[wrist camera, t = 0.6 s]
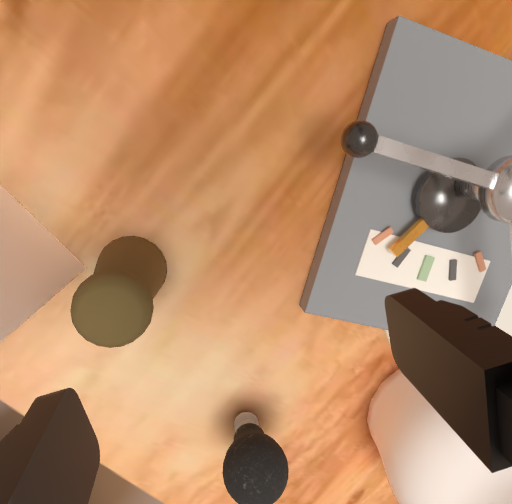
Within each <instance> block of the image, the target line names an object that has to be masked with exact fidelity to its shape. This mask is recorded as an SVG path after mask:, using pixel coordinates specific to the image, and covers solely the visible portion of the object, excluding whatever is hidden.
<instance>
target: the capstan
mask: <svg viewBox="0 0 512 504" xmlns="http://www.w3.org/2000/svg"><path fill="white" fill-rule="evenodd" d="M341 145H342V148H343V150H344V151H345V153H346V154H348V155H349V156H351V157H354V158H363V157H366V156H368V155H369V154H371V153H372V154H375V155H378V156H381V157H384V158H388V159H391V160H394V161H397V162H400V163H404V164H407V165H410V166H413V167H417V168H420V169H423V170H426V171H429V172H427V173H426V174H425V176H424V177H423V178H422V179H421V181H420V183H419V184H418V187H417V189H416V193H415V198H414V205H415V211H416V214H417V216H418V218H419V219H418V220H417V221H416V222H415V223H414V224H413V225H412V226H411V227H410V228H409V229H408V230H407V231H406V232H405V233H404V234H403V235H402V236H401V237H400V238H399V239H398V240H397V241H396V242H395V243H394V244H393V245H392V246H391V247H390V248H389V250H390V251H391V252H392V254H393V255H394V256H396V257H398V256H399V255H400V254H401V253H402V252H403V251H404V250H405V249H406V248H407V247H409V246H410V245H411V244H412V243H413V242H414V241H415V240H416V239H417V238H418V237H419V236H420V235H421V234H422V233H423V232H424V231H425V230H426V229H427V228H430V229H433V230H436V231H439V232H443V233H453V232H457V231H460V230H462V229H464V228H465V227H467V226H468V225H469V224H471V223H472V222H473V221H474V219H475V218H476V217H477V215H478V214H479V212H480V210H481V208H482V210H483V212H484V213H485V214H486V215H487V216H488V217H489V218H491V219H493V220H495V221H499V222H504V223H508V224H509V232H510V245H511V258H512V155H508V156H504V157H502V158H500V159H498V160H496V161H495V162H494V163H493V164H491V165H490V167H489V168H488V169H487V170H485V169H482V168H479V167H476V166H473V165H470V164H467V163H463V162H460V161H457V160H454V159H451V158H448V157H445V156H442V155H439V154H436V153H433V152H429V151H426V150H423V149H420V148H417V147H414V146H411V145H408V144H405V143H402V142H399V141H395V140H392V139H389V138H386V137H383V136H380V135H378V133H377V130H376V128H375V127H374V126H373V125H372V124H371V123H369V122H367V121H363V120H359V121H355V122H352V123H350V124H349V125H348V126H347V127H346V128H345V129H344V131H343V133H342V135H341Z"/></svg>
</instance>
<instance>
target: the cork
mask: <svg viewBox="0 0 512 504" xmlns="http://www.w3.org/2000/svg"><path fill="white" fill-rule="evenodd" d="M166 274H167V266H166V260H165V258H164V256H163V254H162V252H161V251H160V250H159V248H158V247H157V246H156V245H155V244H153V243H152V242H150V241H148V240H147V239H145V238H140V237H136V236H128V237H121V238H119V239H116V240H113V241H112V242H111V243H109V244H108V245H107V246H106V247H104V249H103V251H102V252H101V254H100V255H99V257H98V261H97V264H96V267H95V271H94V274H93V275H91V276H90V277H88V278H87V279H86V280H85V281H84V282H82V283H81V284H80V286H79V287H78V289H77V290H76V292H75V294H74V295H73V299H72V304H71V317H72V322H73V324H74V326H75V328H76V330H77V331H78V333H79V334H80V335H82V336H83V337H84V338H85V339H86V340H87V341H89V342H91V343H93V344H95V345H98V346H103V347H109V348H111V347H120V346H124V345H126V344H129V343H131V342H133V341H134V340H136V339H137V338H138V337H139V336H141V335H142V334H143V333H144V332H145V330H146V328H147V327H148V325H149V324H150V322H151V317H152V313H153V298H154V297H155V295H156V294H157V292H158V291H159V289H160V288H161V286H162V285H163V283H164V282H165V278H166Z"/></svg>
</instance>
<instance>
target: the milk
mask: <svg viewBox="0 0 512 504" xmlns="http://www.w3.org/2000/svg"><path fill="white" fill-rule="evenodd" d="M86 268H87V267H86V266H85V265H84V264H82V263H81V262H80V261H79V260H78V259H77V258H76V257H75V256H74V255H73V254H72V253H71V252H70V251H69V250H68V249H67V248H66V247H65V246H64V245H63V244H62V243H61V242H60V241H58V240H57V239H56V238H55V237H54V236H53V235H52V234H51V233H50V232H49V231H48V230H47V229H46V228H45V227H44V226H43V225H42V224H41V223H40V222H39V221H38V220H37V219H35V218H34V217H33V216H32V215H31V214H30V213H29V212H28V211H27V210H26V209H25V208H24V207H23V206H22V205H21V204H20V203H19V202H18V201H17V200H16V199H15V198H14V197H13V196H11V195H10V194H9V193H8V192H7V191H6V190H5V189H4V188H3V187H2V186H1V185H0V342H1V341H3V340H4V339H5V338H6V337H7V336H8V335H10V334H11V333H12V332H13V331H14V330H15V329H16V328H18V327H19V326H20V325H21V324H22V323H23V322H25V321H26V320H27V319H28V318H29V317H30V316H31V315H33V314H34V313H35V312H36V311H37V310H38V309H40V308H41V307H42V306H43V305H44V304H45V303H46V302H48V301H49V300H50V299H51V298H52V297H53V296H55V295H56V294H57V293H58V292H59V291H60V290H61V289H63V288H64V287H65V286H66V285H67V284H68V283H70V282H71V281H72V280H73V279H74V278H75V277H76V276H78V275H79V274H80V273H81V272H82V271H83V270H85V269H86Z"/></svg>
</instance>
